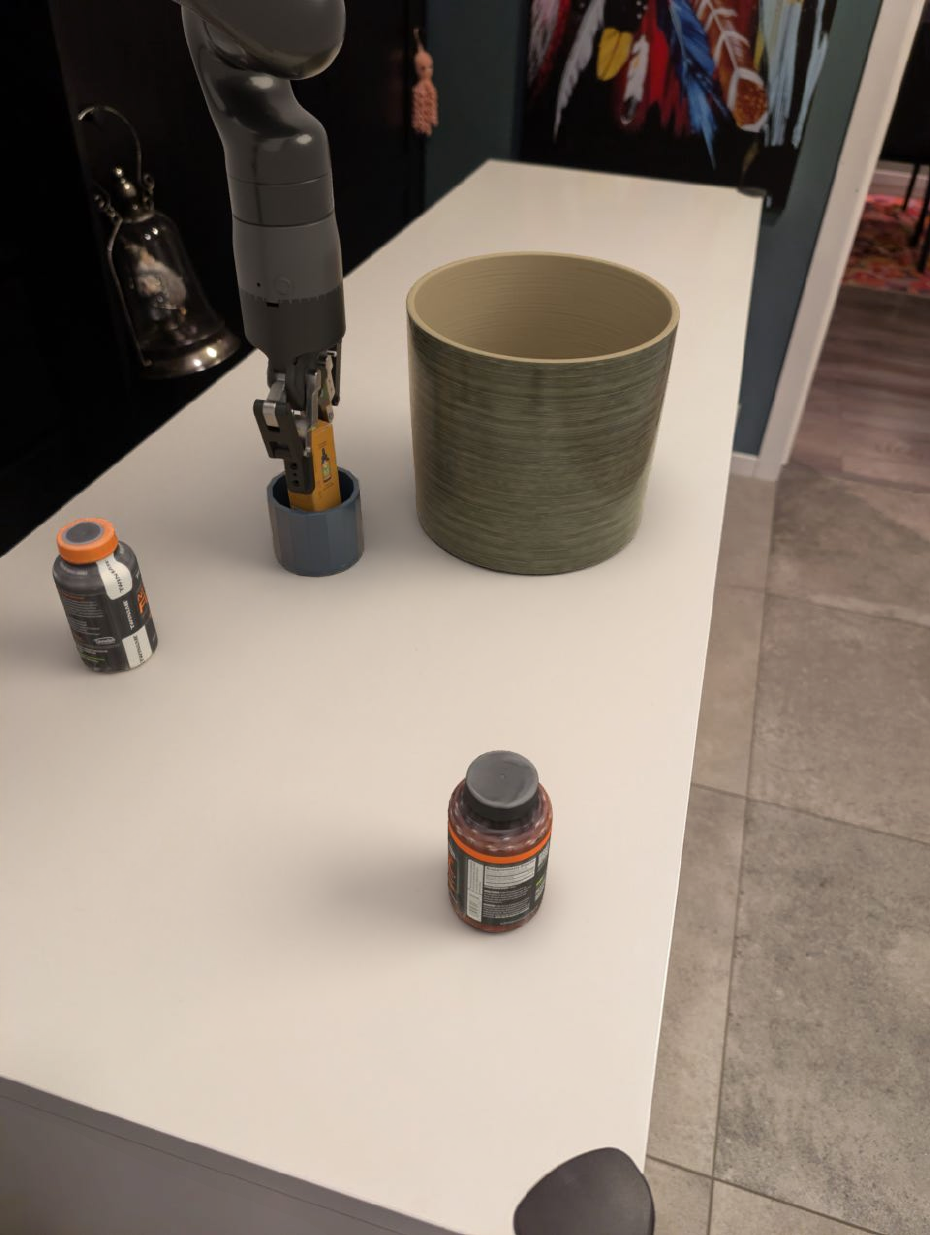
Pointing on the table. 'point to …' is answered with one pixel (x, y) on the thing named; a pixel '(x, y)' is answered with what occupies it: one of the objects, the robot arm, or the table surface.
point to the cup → (317, 530)
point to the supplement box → (320, 473)
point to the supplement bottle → (498, 842)
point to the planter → (536, 405)
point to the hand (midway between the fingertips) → (310, 476)
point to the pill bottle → (103, 596)
